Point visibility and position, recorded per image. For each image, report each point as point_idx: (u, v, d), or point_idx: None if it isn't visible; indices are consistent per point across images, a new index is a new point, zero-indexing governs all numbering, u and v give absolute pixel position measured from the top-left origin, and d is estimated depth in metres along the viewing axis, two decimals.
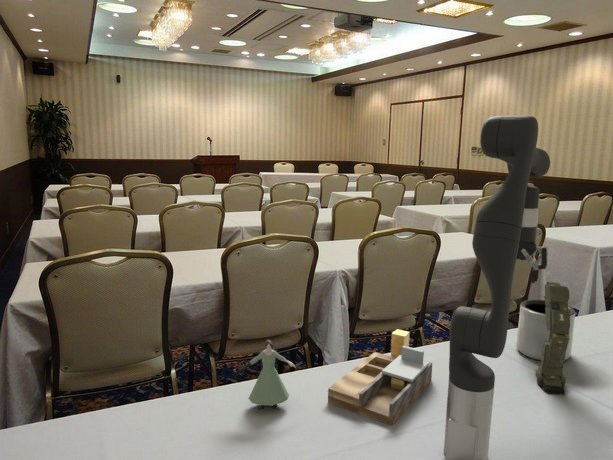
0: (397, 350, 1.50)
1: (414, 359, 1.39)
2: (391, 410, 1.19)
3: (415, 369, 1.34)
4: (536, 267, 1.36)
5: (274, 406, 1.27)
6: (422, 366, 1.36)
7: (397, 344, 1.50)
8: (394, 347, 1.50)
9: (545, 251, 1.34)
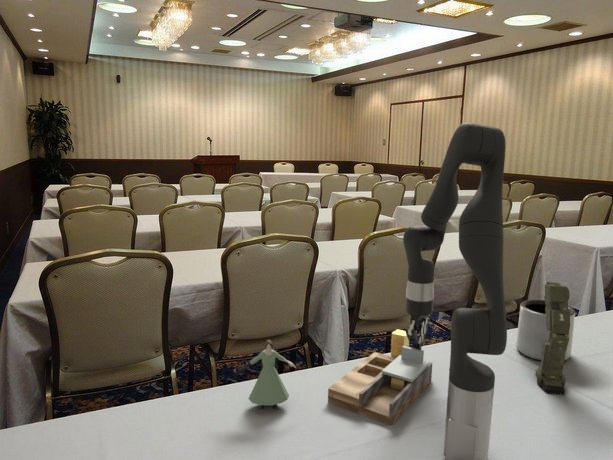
0: (397, 350, 1.50)
1: (414, 359, 1.39)
2: (391, 410, 1.19)
3: (415, 369, 1.34)
4: (422, 339, 1.41)
5: (274, 406, 1.27)
6: (422, 366, 1.36)
7: (397, 344, 1.50)
8: (394, 347, 1.50)
9: None
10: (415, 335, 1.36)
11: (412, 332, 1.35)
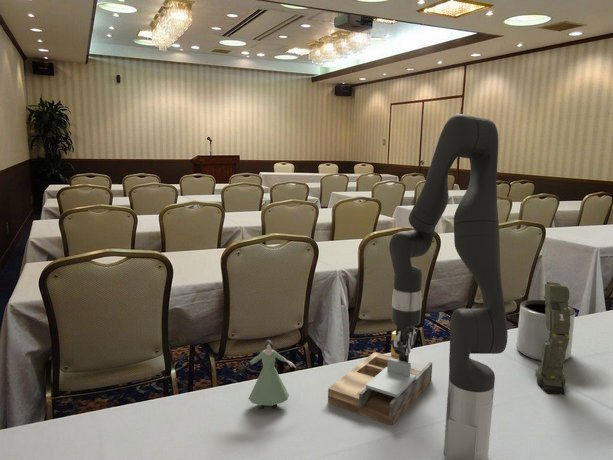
0: None
1: (400, 372, 1.31)
2: (391, 410, 1.19)
3: (401, 383, 1.27)
4: (410, 350, 1.33)
5: (274, 406, 1.27)
6: (409, 380, 1.29)
7: None
8: None
9: None
10: (401, 347, 1.28)
11: (398, 344, 1.27)
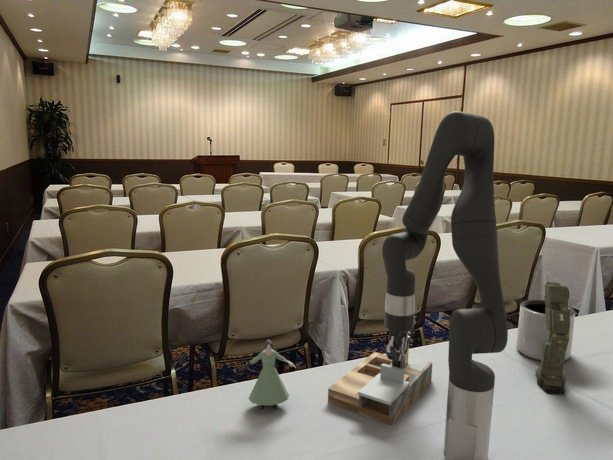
0: None
1: (394, 378, 1.28)
2: (391, 410, 1.19)
3: (394, 390, 1.23)
4: (403, 355, 1.30)
5: (274, 406, 1.27)
6: (402, 386, 1.25)
7: None
8: None
9: (410, 337, 1.33)
10: (394, 352, 1.25)
11: (391, 349, 1.24)
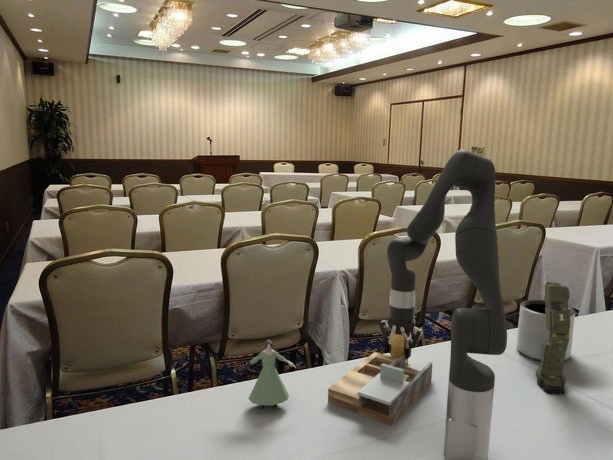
0: (397, 350, 1.50)
1: (394, 378, 1.27)
2: (391, 410, 1.19)
3: (394, 390, 1.23)
4: None
5: (274, 406, 1.27)
6: (402, 386, 1.25)
7: (397, 344, 1.50)
8: (394, 347, 1.50)
9: None
10: None
11: (422, 330, 1.47)
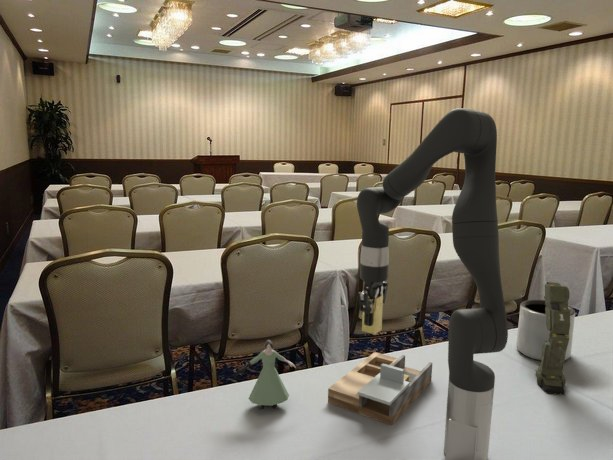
0: None
1: (394, 378, 1.27)
2: (391, 410, 1.19)
3: (394, 390, 1.23)
4: None
5: (274, 406, 1.27)
6: (402, 386, 1.25)
7: None
8: None
9: (387, 286, 1.39)
10: (367, 300, 1.29)
11: (364, 295, 1.28)
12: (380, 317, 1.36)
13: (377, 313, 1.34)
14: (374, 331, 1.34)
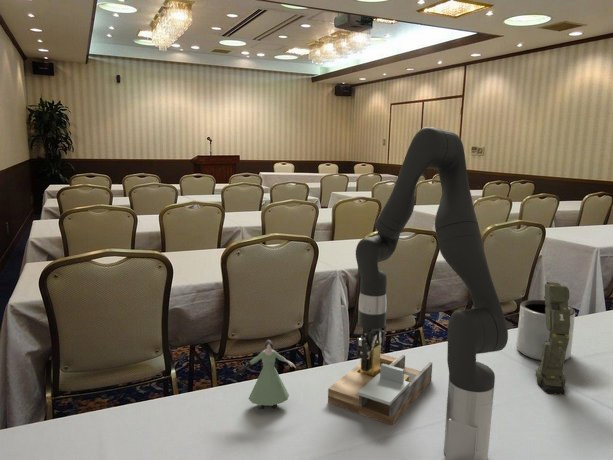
0: None
1: (394, 378, 1.27)
2: (391, 410, 1.19)
3: (394, 390, 1.23)
4: None
5: (274, 406, 1.27)
6: (402, 386, 1.25)
7: None
8: None
9: (385, 328, 1.41)
10: (365, 346, 1.31)
11: (362, 341, 1.31)
12: (378, 365, 1.38)
13: (375, 362, 1.36)
14: None
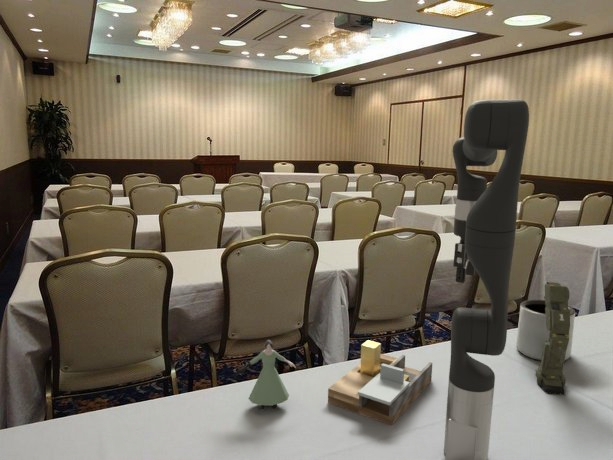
0: None
1: (394, 378, 1.27)
2: (391, 410, 1.19)
3: (394, 390, 1.23)
4: None
5: (274, 406, 1.27)
6: (402, 386, 1.25)
7: None
8: None
9: None
10: (464, 252, 1.22)
11: (463, 245, 1.22)
12: (378, 365, 1.38)
13: (375, 362, 1.36)
14: None
